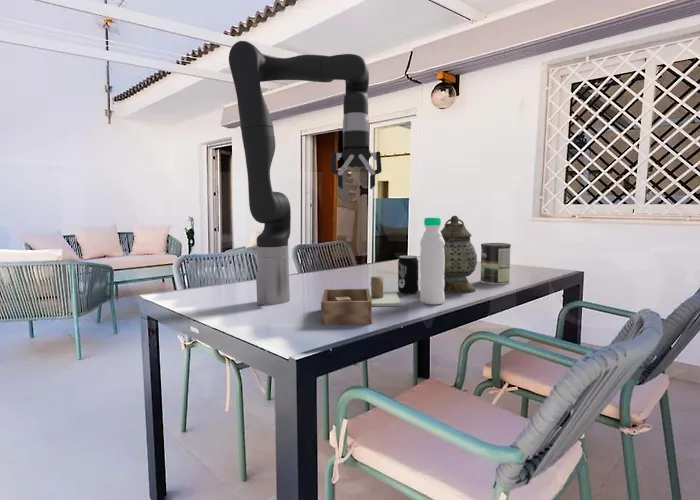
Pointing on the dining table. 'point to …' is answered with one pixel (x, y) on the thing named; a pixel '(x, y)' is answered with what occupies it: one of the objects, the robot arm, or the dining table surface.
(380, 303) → the lid
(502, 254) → the coffee can
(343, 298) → the maple cube
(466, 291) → the lantern
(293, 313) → the dining table surface
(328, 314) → the box
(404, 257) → the beverage can
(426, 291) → the water bottle
